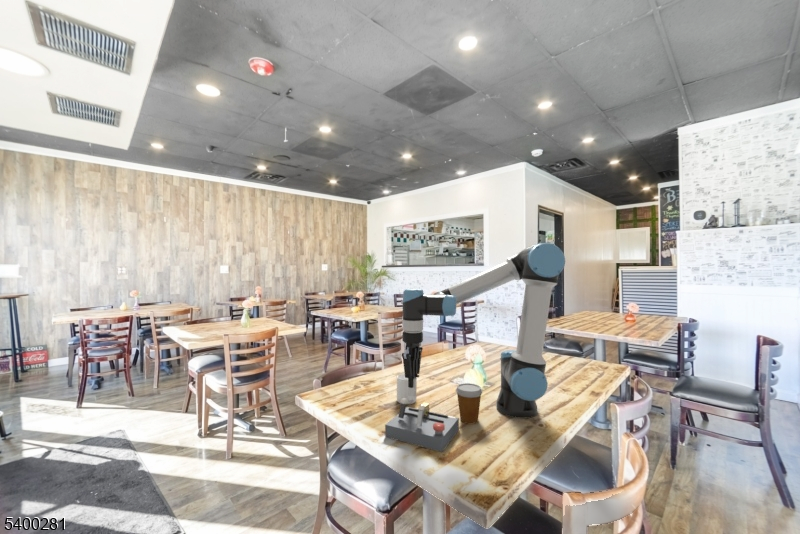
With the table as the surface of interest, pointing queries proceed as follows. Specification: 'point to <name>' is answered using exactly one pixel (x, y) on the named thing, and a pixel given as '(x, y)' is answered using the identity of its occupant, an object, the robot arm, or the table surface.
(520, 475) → the table surface
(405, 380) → the mug
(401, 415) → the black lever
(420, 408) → the steel lever
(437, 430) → the red button
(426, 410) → the brass slider
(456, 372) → the table surface
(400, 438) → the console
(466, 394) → the disposable coffee cup
